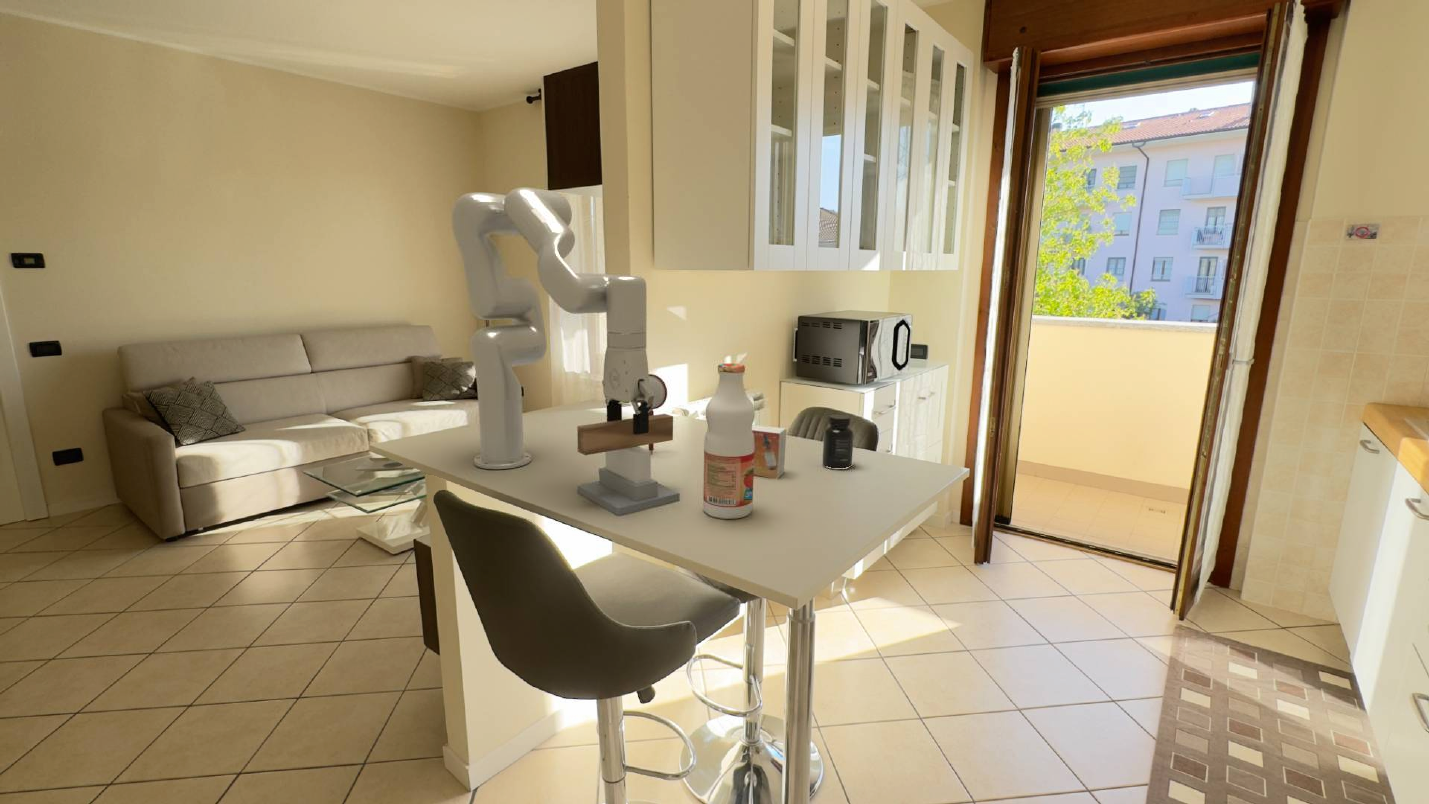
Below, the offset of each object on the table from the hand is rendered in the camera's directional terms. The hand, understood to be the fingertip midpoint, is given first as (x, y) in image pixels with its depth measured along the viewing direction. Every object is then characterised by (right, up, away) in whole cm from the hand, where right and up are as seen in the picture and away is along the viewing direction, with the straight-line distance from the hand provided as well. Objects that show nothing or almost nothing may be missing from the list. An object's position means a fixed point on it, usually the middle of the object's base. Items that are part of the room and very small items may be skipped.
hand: (627, 428), depth 127 cm
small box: (+28, -11, +20) cm, 36 cm away
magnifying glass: (+1, -8, +33) cm, 34 cm away
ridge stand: (0, -14, +3) cm, 14 cm away
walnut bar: (0, -3, +1) cm, 4 cm away
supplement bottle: (+46, -10, +26) cm, 54 cm away
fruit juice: (+20, -16, -4) cm, 25 cm away
